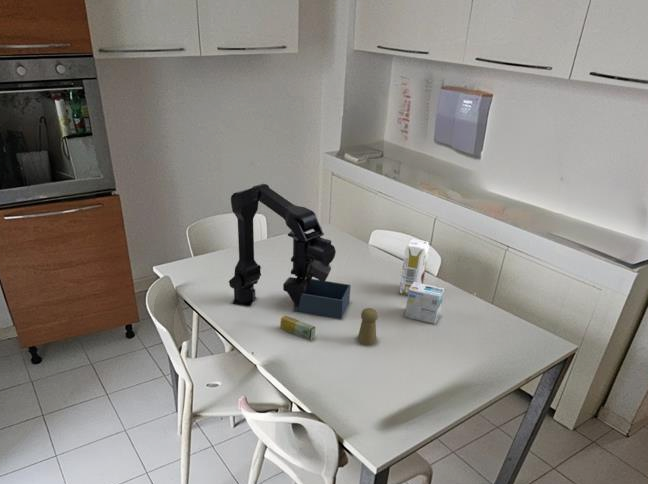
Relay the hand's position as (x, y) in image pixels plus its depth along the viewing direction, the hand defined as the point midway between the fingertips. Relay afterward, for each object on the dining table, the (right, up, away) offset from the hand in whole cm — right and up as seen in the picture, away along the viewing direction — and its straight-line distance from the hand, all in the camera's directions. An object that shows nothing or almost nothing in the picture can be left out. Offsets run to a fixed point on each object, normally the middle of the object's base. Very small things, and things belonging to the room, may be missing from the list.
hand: (301, 299), depth 163 cm
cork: (+21, -13, +2) cm, 24 cm away
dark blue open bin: (+7, -1, +20) cm, 21 cm away
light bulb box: (+41, -5, +16) cm, 44 cm away
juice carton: (+40, +5, +31) cm, 51 cm away
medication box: (-1, -11, +5) cm, 12 cm away
